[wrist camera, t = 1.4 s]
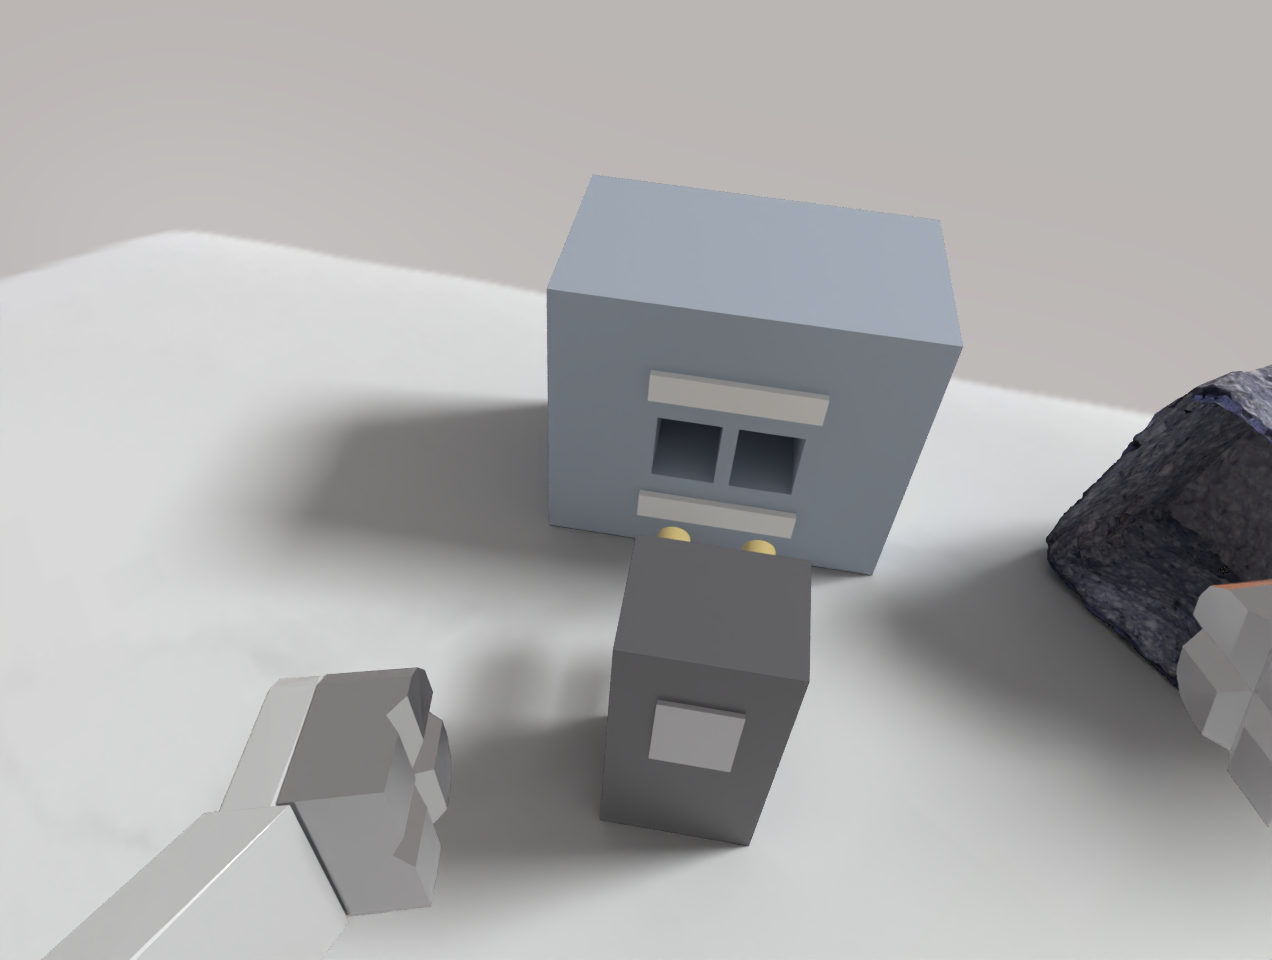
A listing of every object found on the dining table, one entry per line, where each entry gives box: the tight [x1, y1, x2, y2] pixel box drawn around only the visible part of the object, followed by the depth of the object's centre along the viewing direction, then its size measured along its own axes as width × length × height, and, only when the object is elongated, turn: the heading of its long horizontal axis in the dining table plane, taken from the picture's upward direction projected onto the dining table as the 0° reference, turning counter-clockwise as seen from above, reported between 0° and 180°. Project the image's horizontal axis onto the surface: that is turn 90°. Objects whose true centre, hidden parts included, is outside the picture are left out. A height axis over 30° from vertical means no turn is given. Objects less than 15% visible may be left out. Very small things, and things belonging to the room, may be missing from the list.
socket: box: [547, 175, 963, 575], centre depth 37 cm, size 14×9×12 cm, turn 81°
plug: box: [600, 527, 811, 846], centre depth 29 cm, size 5×8×10 cm, turn 171°
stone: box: [1046, 365, 1272, 688], centre depth 35 cm, size 12×10×10 cm
